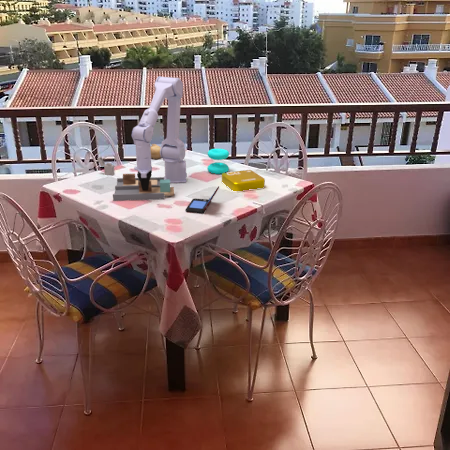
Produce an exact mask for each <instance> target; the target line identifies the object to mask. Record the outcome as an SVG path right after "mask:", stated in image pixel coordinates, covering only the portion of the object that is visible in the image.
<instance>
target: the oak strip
mask: <svg viewBox="0 0 450 450" xmlns="http://www.w3.org/2000/svg"><path fill="white" fill-rule="evenodd" d="M139 193H164V197H165V196H167V197H168V196H171V197H172V196H175V186H170V192H160V187H154V188H152V185H151V181H149V188H148V190H147V191H143V190H142V186H141V182H140V181H139Z"/></svg>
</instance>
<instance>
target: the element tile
mask: <svg viewBox="0 0 450 450" xmlns="http://www.w3.org/2000/svg"><path fill="white" fill-rule="evenodd" d="M265 181H266V179H265V178H264V177H263V176H261V175H260V174H258V173H257V172H255V171H254V170H251V169H246V170H245V169H244V170H237V171H228V172H226V173H222V174H221V183H222V182H223V183H224V184H225V185H226V186H225V185H224V184H223V183H222V184H223V185H224V186H225V187H227V186H228V187H229V188H230V189H231V190H230V189H229V188H228V187H227V188H228V189H229V190H230V191H232V190H233V191H243V190H249V189H257V188H263V187H264V188H265V186H266V185H265V183H266V182H265ZM264 188H263V189H264ZM257 190H258V189H257ZM233 191H232V192H233ZM243 192H244V191H243Z"/></svg>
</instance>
